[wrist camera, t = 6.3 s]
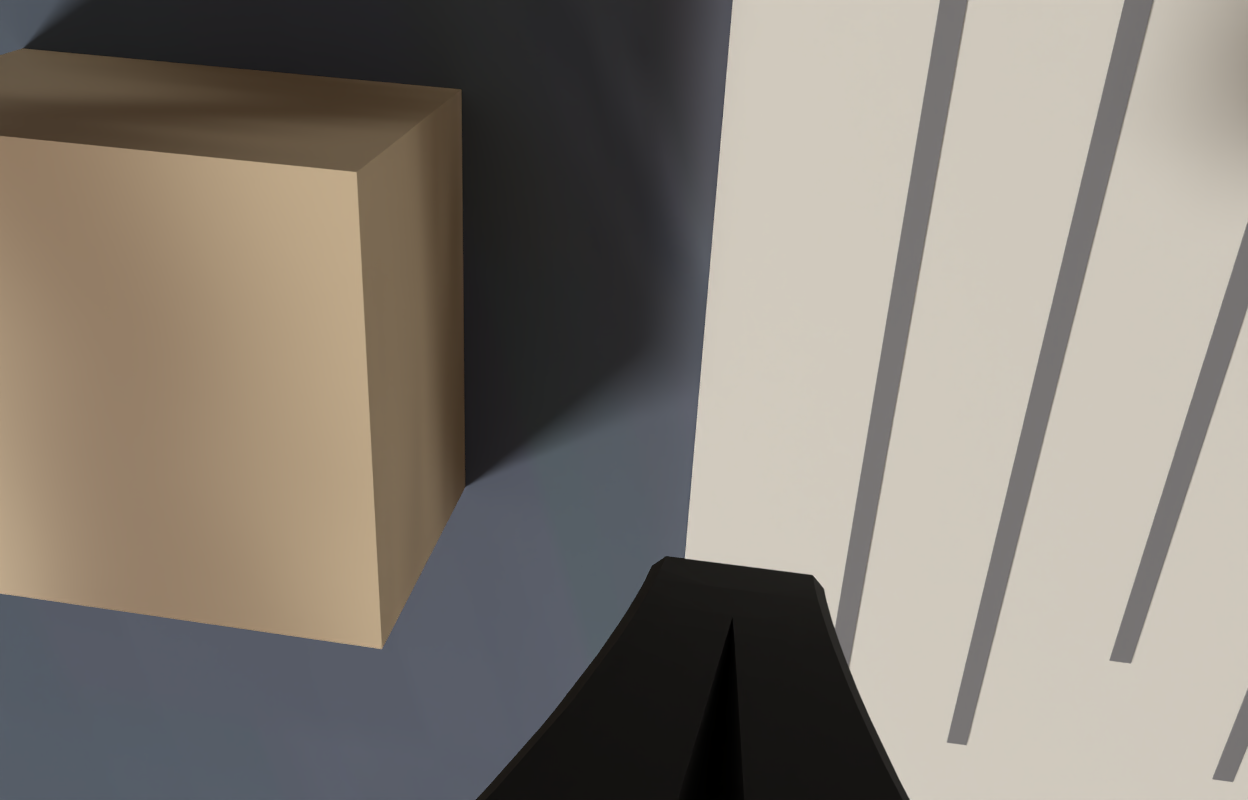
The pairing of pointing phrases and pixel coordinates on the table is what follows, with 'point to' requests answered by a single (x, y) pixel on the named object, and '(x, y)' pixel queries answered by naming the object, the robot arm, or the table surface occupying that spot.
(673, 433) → the table surface
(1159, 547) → the letter
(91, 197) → the oak block
